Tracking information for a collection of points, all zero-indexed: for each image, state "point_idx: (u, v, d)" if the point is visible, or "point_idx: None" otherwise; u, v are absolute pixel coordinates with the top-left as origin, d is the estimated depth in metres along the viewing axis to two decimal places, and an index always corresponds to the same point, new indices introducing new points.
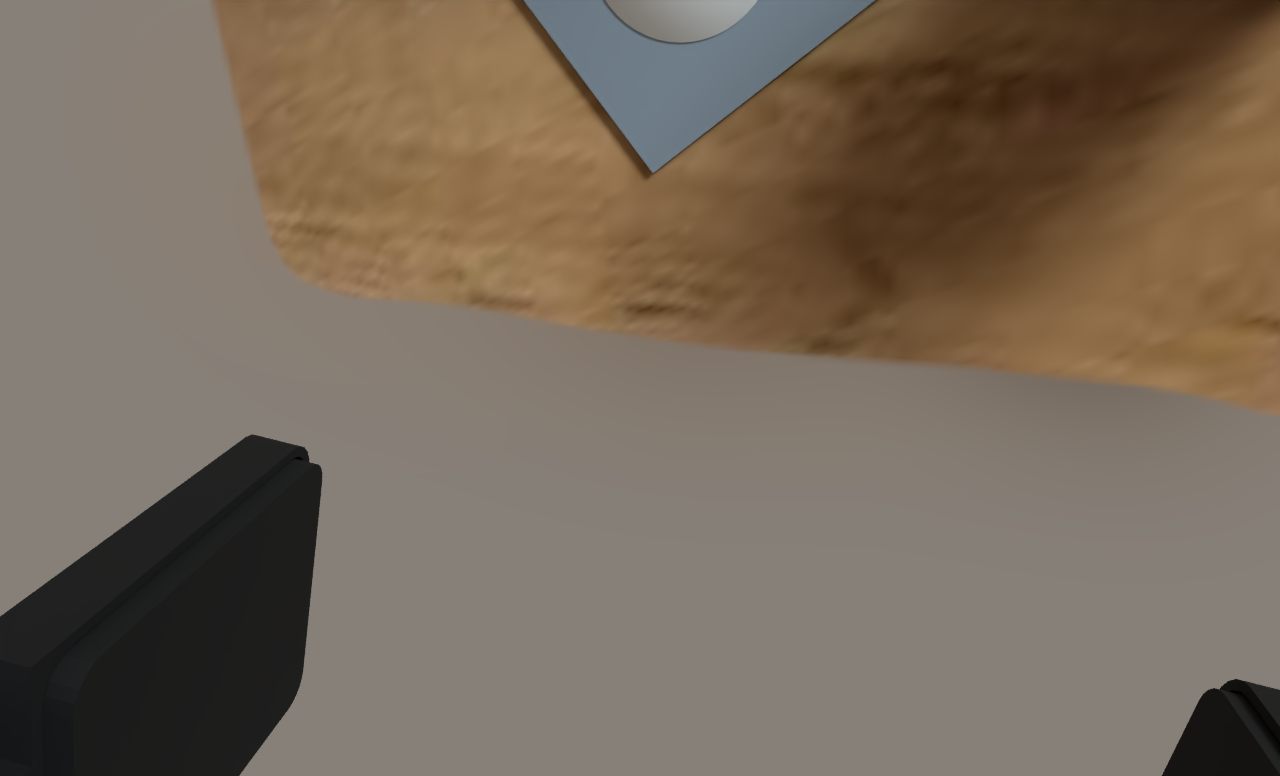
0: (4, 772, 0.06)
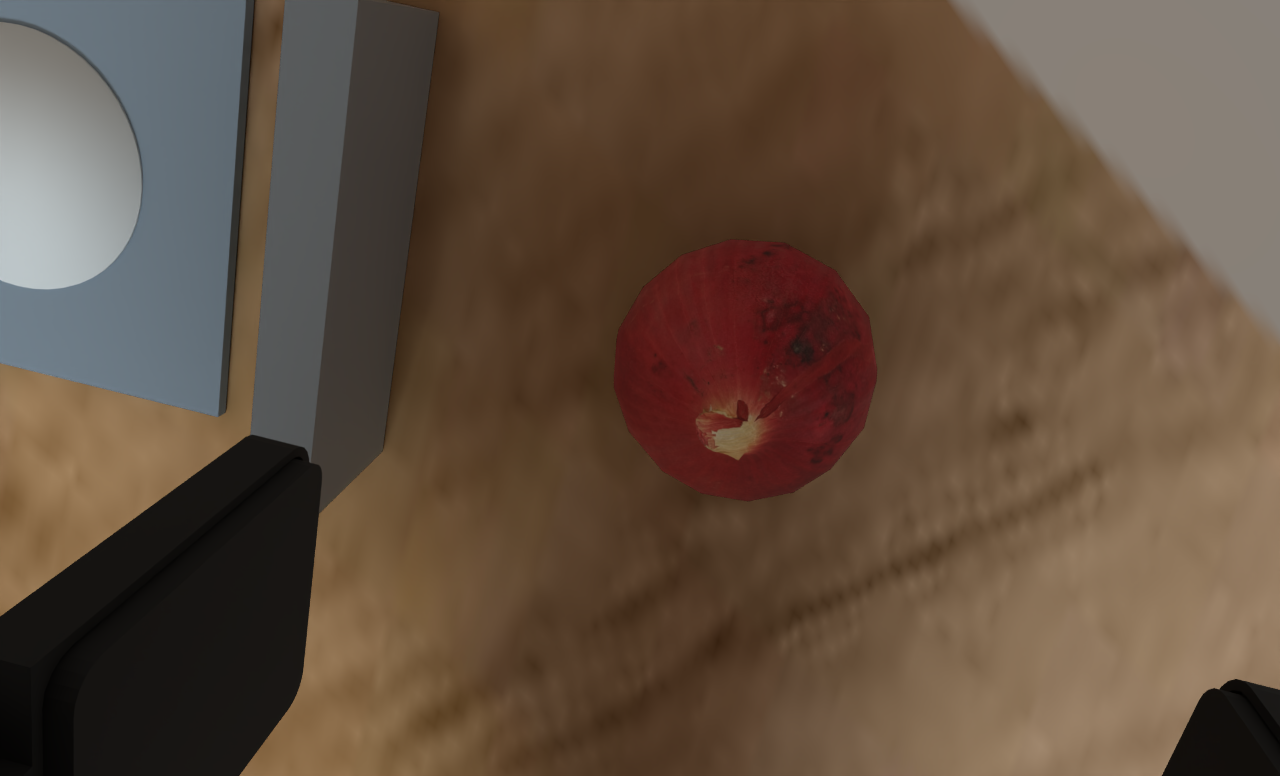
0: (4, 772, 0.06)
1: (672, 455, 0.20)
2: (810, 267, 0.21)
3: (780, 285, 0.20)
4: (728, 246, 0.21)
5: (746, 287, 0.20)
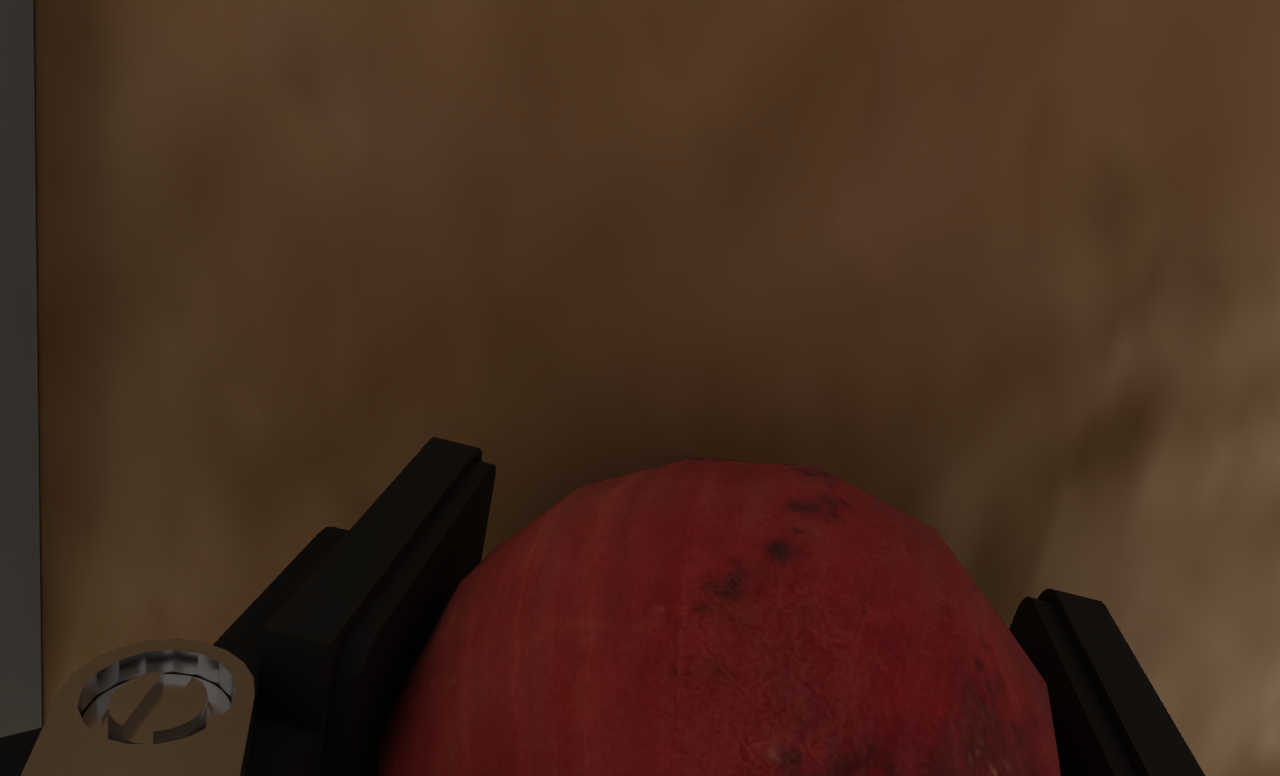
0: (297, 739, 0.07)
1: None
2: (902, 589, 0.07)
3: (818, 684, 0.06)
4: (670, 516, 0.07)
5: (715, 697, 0.06)
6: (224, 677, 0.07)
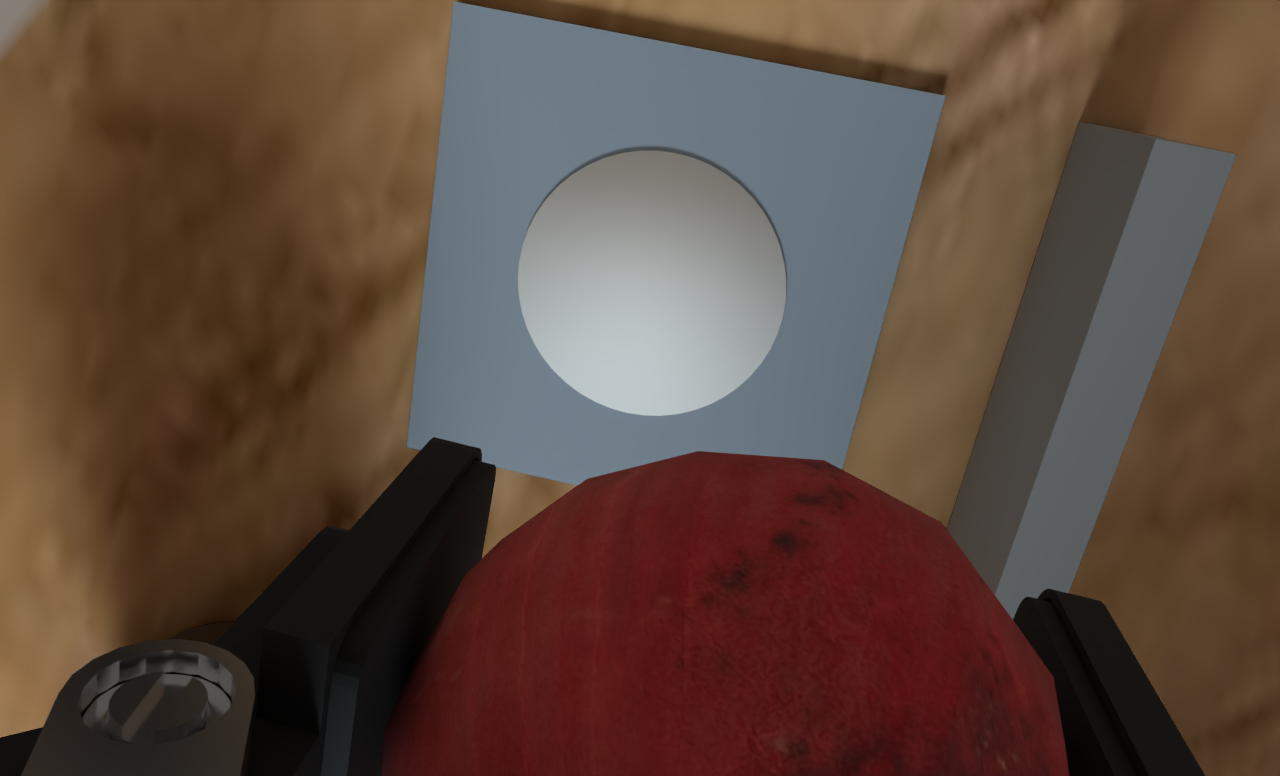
0: (297, 738, 0.07)
1: None
2: (908, 581, 0.07)
3: (826, 675, 0.06)
4: (675, 508, 0.07)
5: (722, 689, 0.06)
6: (224, 676, 0.07)
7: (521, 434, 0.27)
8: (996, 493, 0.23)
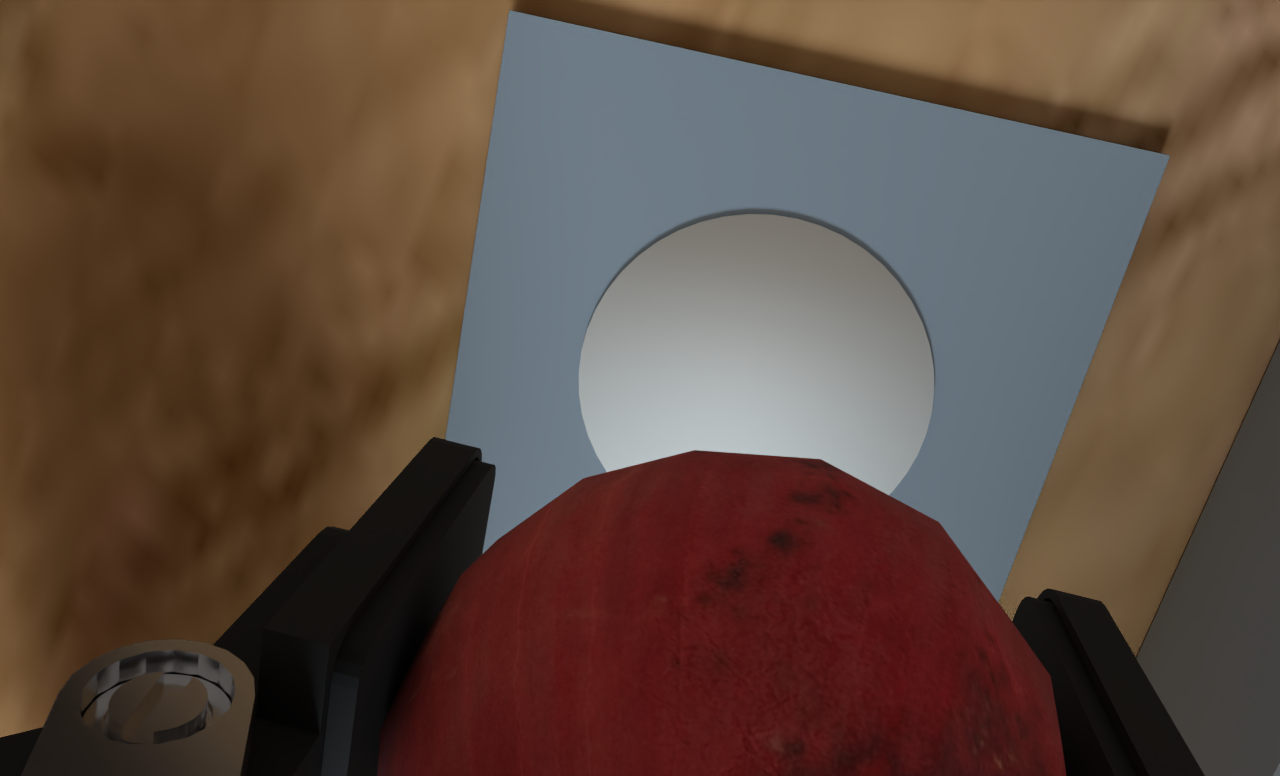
0: (297, 739, 0.07)
1: None
2: (905, 580, 0.07)
3: (820, 674, 0.06)
4: (672, 507, 0.07)
5: (717, 687, 0.06)
6: (224, 676, 0.07)
7: None
8: (1220, 687, 0.17)
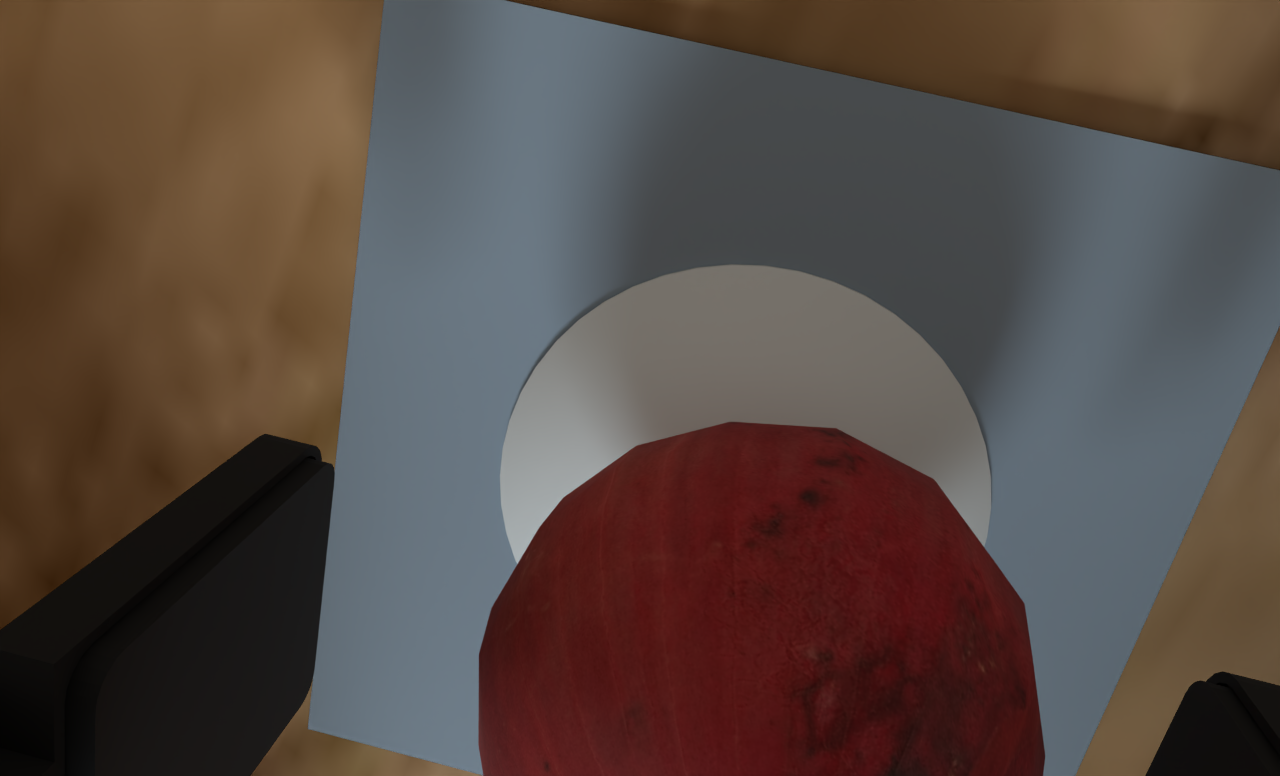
0: (27, 767, 0.06)
1: None
2: (908, 527, 0.09)
3: (845, 601, 0.08)
4: (720, 471, 0.09)
5: (764, 612, 0.08)
6: None
7: None
8: None
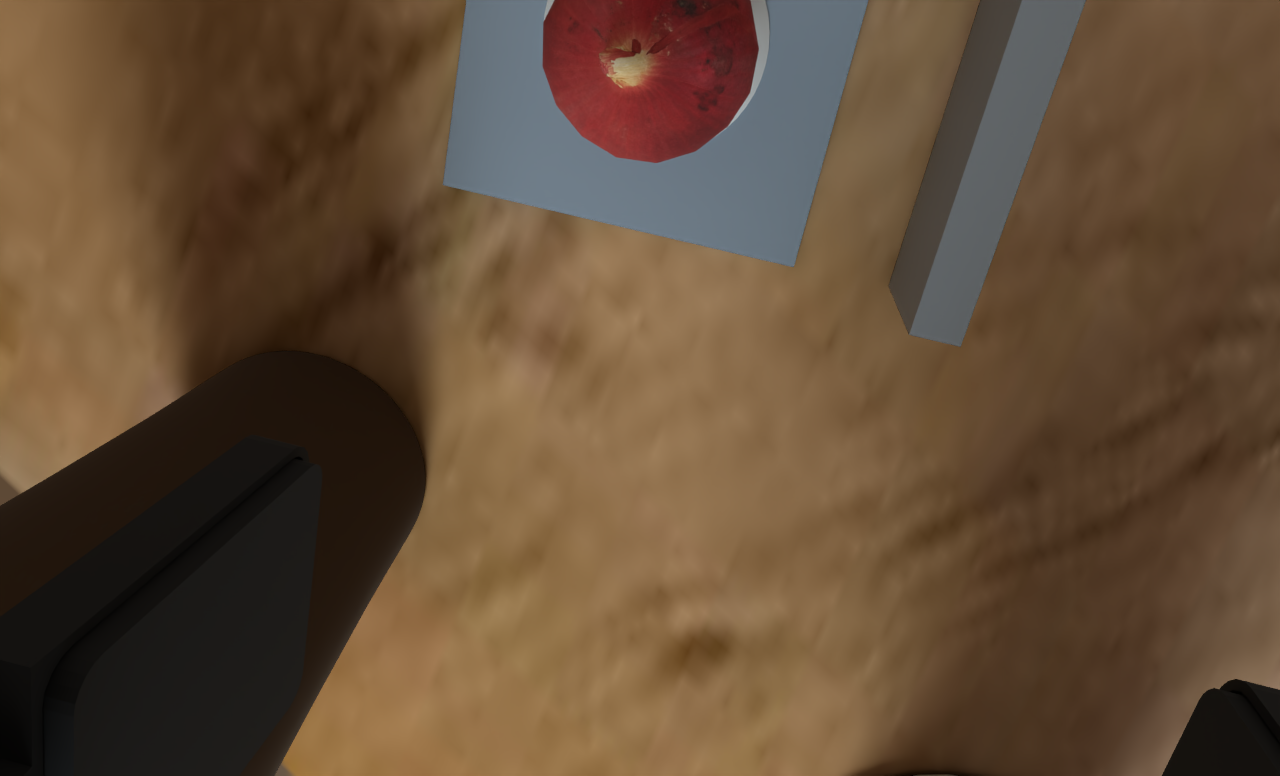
0: (4, 772, 0.06)
1: (586, 105, 0.25)
2: None
3: None
4: None
5: None
6: None
7: (542, 172, 0.32)
8: (935, 202, 0.29)
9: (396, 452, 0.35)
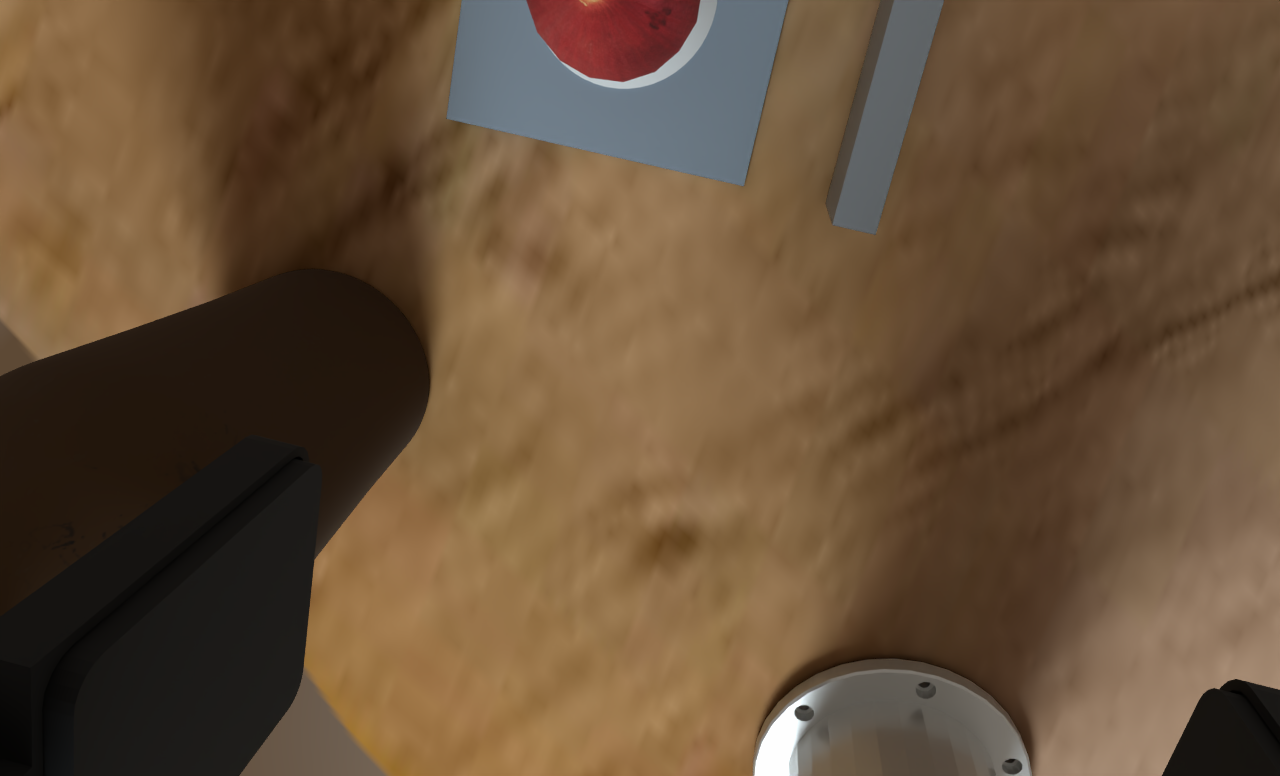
0: (4, 772, 0.06)
1: (560, 25, 0.31)
2: None
3: None
4: None
5: None
6: None
7: (530, 106, 0.38)
8: (855, 118, 0.34)
9: (404, 352, 0.40)
